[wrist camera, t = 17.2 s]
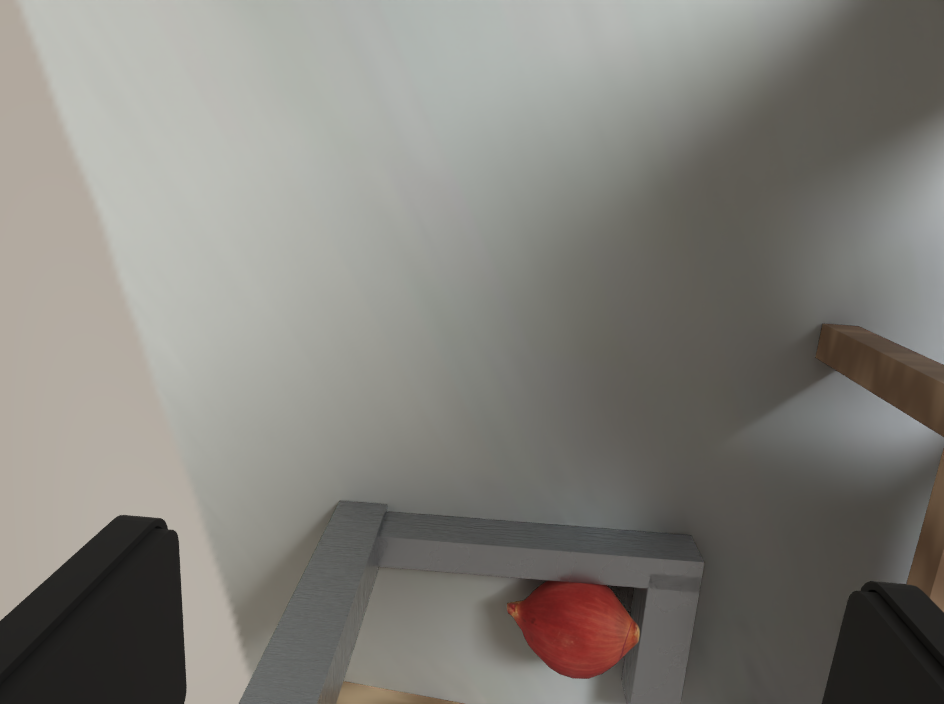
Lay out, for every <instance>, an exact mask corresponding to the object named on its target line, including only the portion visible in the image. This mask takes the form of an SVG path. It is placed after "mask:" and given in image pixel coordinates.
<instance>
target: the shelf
mask: <svg viewBox="0 0 944 704" xmlns="http://www.w3.org/2000/svg"><path fill="white" fill-rule="evenodd" d="M815 358H817V359H819V360H820V361H822V362H823V363H825V364H827V365H828V366H830V367H831V368H833V369H835V370H836V371H838V372H840V373H841V374H843V375H844V376H846V377H848V378H849V379H851V380H852V381H854V382H856V383H857V384H859V385H861V386H862V387H864V388H865V389H867V390H869V391H870V392H872V393H873V394H875V395H877V396H878V397H880V398H882V399H883V400H885V401H886V402H888V403H890V404H891V405H893V406H894V407H896V408H898V409H899V410H901V411H902V412H904V413H906V414H907V415H909V416H911V417H912V418H914V419H915V420H917V421H919V422H920V423H922V424H923V425H925V426H927V427H928V428H930V429H932V430H933V431H935V432H936V433H938V434H940V435H941V436H943V437H944V365H943V364H940V363H938V362H936V361H934V360H932V359H929V358H927V357H925V356H923V355H921V354H918V353H916V352H914V351H912V350H910V349H907V348H905V347H903V346H901V345H899V344H896V343H894V342H892V341H890V340H888V339H885V338H883V337H881V336H879V335H877V334H874V333H872V332H870V331H868V330H866V329H863V328H861V327H859V326H848V325H835V324H822V329H821V334H820V338H819V343H818V348H817V352H816V357H815ZM907 585H914V586H917V587H918V588H920V589H921V590H922V591H923V592H924V593H925V594H926V595H927V596H928V597H929V598H930V599H931V600H932V601H933V602H934V603H935V604H936V605H937V606H938V607H939V608H940V609H941V610H942V611H943V612H944V449H943V453H942V456H941V460H940V464H939V467H938V471H937V475H936V478H935V482H934V485H933V489H932V493H931V496H930V500H929V504H928V507H927V511H926V515H925V518H924V522H923V525H922V529H921V533H920V536H919V540H918V544H917V547H916V551H915V555H914V558H913V562H912V565H911V569H910V573H909V576H908V580H907Z"/></svg>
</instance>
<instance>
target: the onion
mask: <svg viewBox="0 0 944 704" xmlns="http://www.w3.org/2000/svg"><path fill="white" fill-rule="evenodd" d="M507 611H508V613H509V614H510V615H511V616H512V617H514V619H515V621H516V623H517V624H518V626H519V627H520V628H521V630H522V632H523V635H524V637H525V639H526V641H527V643H528V645H529V646H530V647H531V649H532V650H533V651H534V652H535V653H536V654H537V655H538V656H539V657H540V658H541V659H542V660H543V661H544V662H545V663H546V664H547V665H548V666H549V667H550V668H551V669H553V670H554V671H556V672H557V673H559V674H561V675H564V676H567V677H571V678H582V679H589V678H592V677H594V676H597V675H600V674H603V673H604V672H605V671H607V670H608V669H610V668H611V667H613V666H614V665H615V664H616V663H617V662H618V661H619V660H620V659H621V658H622V657H623V656H624V655H625V654H626V653H627V652H628V651H629V650H630V649H632V648H633V647H634V646H635V645H636V644H637V643H638V641H639V637H640V630H639V627H638V625H637V624H636V622H635V621H634V620H633V619H632V618H631V616H630V615H629V614H628V612H627V611H626V609H625V608H624V607H623V605H622V604H621V602H620V601H619V600H618V598H617V597H616V596H615V594H614V593H613V591H612V590H611V589H610V588H609V587H608V586H607V585H600V584H587V583H575V582H563V581H550V580H548V581H546V582H545V583H543V584H542V585H540V586H539V587H538V588H536V589H535V590H534V591H533V592H532V593H531V594H530V595H529V596H528V597H527V598H526V599H525V600H523V601H516V602H510V603H507Z"/></svg>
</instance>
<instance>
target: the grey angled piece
mask: <svg viewBox="0 0 944 704" xmlns="http://www.w3.org/2000/svg"><path fill="white" fill-rule="evenodd" d="M704 563H705V562H704V560H703V558H702V556H701V554H700V552H699V550H698V548H697V546H696V544H695V542H694V540H693V538H692V536H691V535H680V534H667V533H654V532H641V531H629V530H616V529H603V528H590V527H578V526H565V525H552V524H539V523H527V522H514V521H501V520H488V519H476V518H463V517H450V516H437V515H425V514H412V513H399V512H387V504H376V503H363V502H351V501H339V503H338V505H337V507H336V509H335V511H334V513H333V515H332V517H331V519H330V521H329V523H328V525H327V527H326V529H325V531H324V533H323V535H322V537H321V539H320V541H319V543H318V545H317V547H316V549H315V551H314V553H313V555H312V557H311V559H310V561H309V563H308V565H307V567H306V569H305V571H304V573H303V575H302V577H301V579H300V581H299V583H298V586H297V588H296V590H295V592H294V594H293V596H292V598H291V600H290V602H289V604H288V606H287V608H286V610H285V612H284V614H283V616H282V618H281V620H280V622H279V624H278V626H277V628H276V630H275V632H274V634H273V636H272V638H271V640H270V642H269V644H268V646H267V648H266V650H265V652H264V654H263V656H262V658H261V660H260V662H259V664H258V666H257V668H256V670H255V672H254V674H253V676H252V678H251V680H250V682H249V684H248V686H247V688H246V690H245V692H244V694H243V696H242V698H241V700H240V702H239V704H336V703H337V700H338V696H339V693H340V690H341V687H342V684H343V681H344V678H345V674H346V671H347V668H348V665H349V662H350V659H351V655H352V652H353V649H354V646H355V643H356V640H357V636H358V633H359V630H360V627H361V624H362V621H363V617H364V614H365V611H366V608H367V605H368V602H369V599H370V595H371V592H372V589H373V586H374V583H375V580H376V576H377V573H378V570H379V567H390V568H402V569H415V570H427V571H439V572H452V573H464V574H476V575H489V576H501V577H513V578H526V579H538V580H550V581H563V582H575V583H587V584H600V585H612V586H624V587H634V594H633V601H632V609H631V618H632V619H633V620H634V621H635V622H636V624H637V625H638V627H639V630H640V637H639V641H638V643H637V644H636V645H635V646H634V647H633V648H632V649H630V650H629V651H628V652H627V653H626V654H625V658H624V665H623V672H622V684H623V688H624V693H625V697H626V701H627V704H680V703H681V697H682V691H683V685H684V680H685V674H686V668H687V662H688V656H689V650H690V645H691V639H692V633H693V627H694V621H695V615H696V610H697V604H698V598H699V592H700V586H701V581H702V575H703V569H704Z"/></svg>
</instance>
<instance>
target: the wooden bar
mask: <svg viewBox="0 0 944 704" xmlns="http://www.w3.org/2000/svg"><path fill="white" fill-rule="evenodd" d="M336 704H464V703H458V702H453V701H447V700H442V699H436V698H431V697H426V696H420V695H415V694H409V693H404V692H399V691H393V690H388V689H382V688H377V687H372V686H366V685H361V684H355V683H350V682H345V681H343V684H342V687H341V690H340V693H339V696H338V700H337V703H336Z"/></svg>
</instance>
